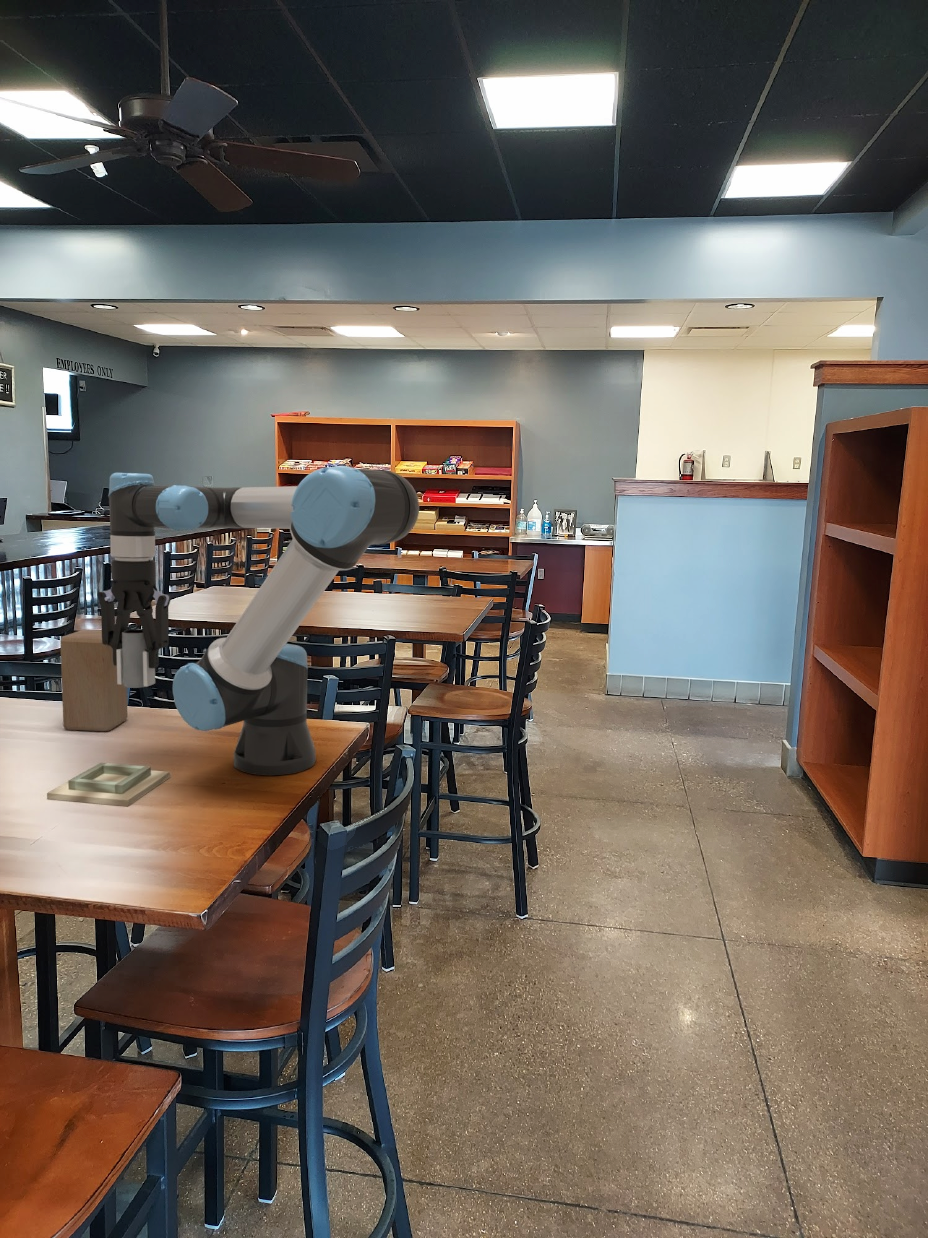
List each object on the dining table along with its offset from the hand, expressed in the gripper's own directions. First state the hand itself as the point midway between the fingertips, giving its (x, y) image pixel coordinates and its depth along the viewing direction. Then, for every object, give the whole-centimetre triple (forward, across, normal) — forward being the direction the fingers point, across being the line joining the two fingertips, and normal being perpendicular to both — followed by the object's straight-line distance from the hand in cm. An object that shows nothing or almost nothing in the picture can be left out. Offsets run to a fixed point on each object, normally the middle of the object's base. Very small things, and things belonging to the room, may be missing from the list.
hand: (136, 683), depth 151 cm
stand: (+15, -4, +15) cm, 21 cm away
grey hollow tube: (0, 0, 0) cm, 0 cm away
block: (+15, +20, -18) cm, 31 cm away
